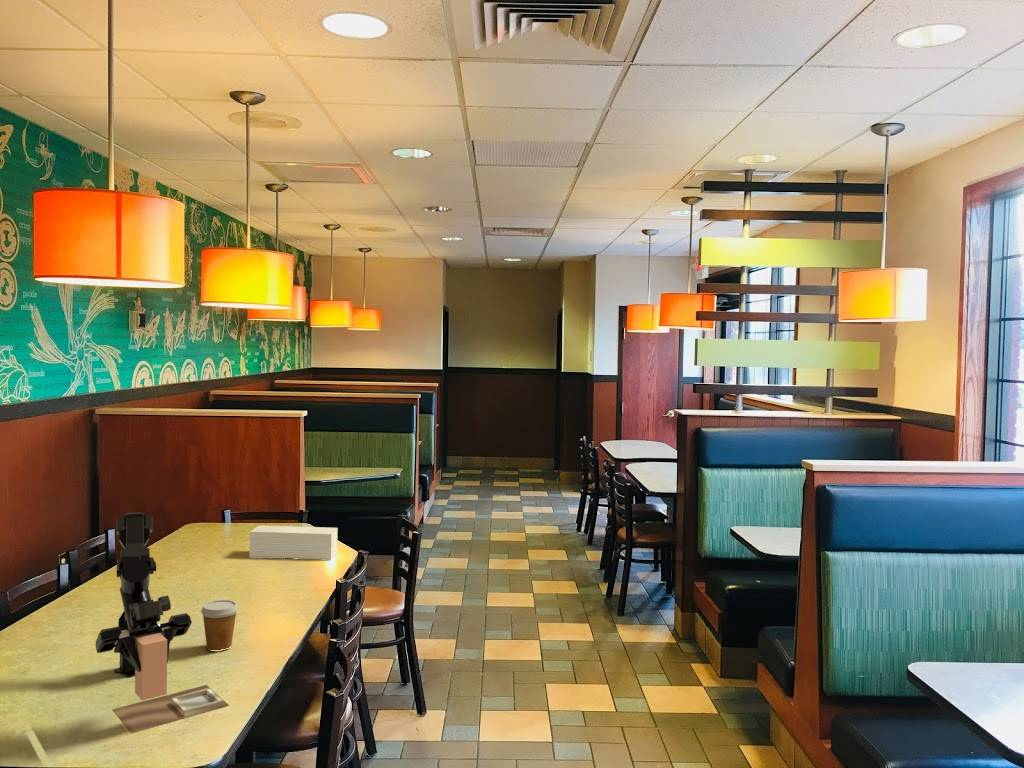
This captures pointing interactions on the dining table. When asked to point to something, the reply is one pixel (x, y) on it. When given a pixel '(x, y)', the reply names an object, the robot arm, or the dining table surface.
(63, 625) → the dining table surface
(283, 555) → the stack of papers
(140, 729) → the baseboard
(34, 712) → the dining table surface
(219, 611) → the disposable coffee cup
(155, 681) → the pillar
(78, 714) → the dining table surface
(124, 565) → the robot arm
